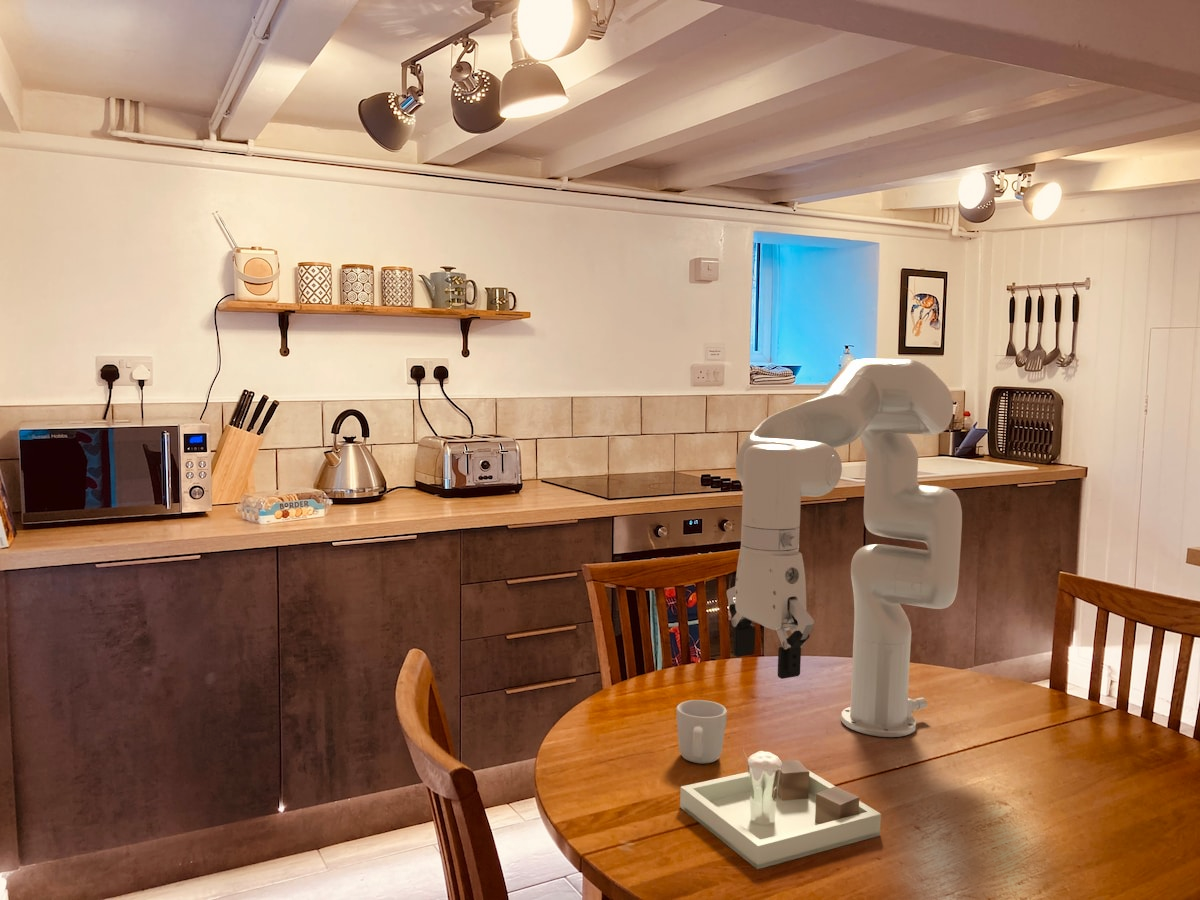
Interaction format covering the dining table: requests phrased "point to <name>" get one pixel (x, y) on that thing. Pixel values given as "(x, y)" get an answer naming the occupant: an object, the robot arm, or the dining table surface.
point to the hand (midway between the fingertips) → (765, 665)
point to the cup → (701, 730)
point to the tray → (793, 827)
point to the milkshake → (763, 786)
